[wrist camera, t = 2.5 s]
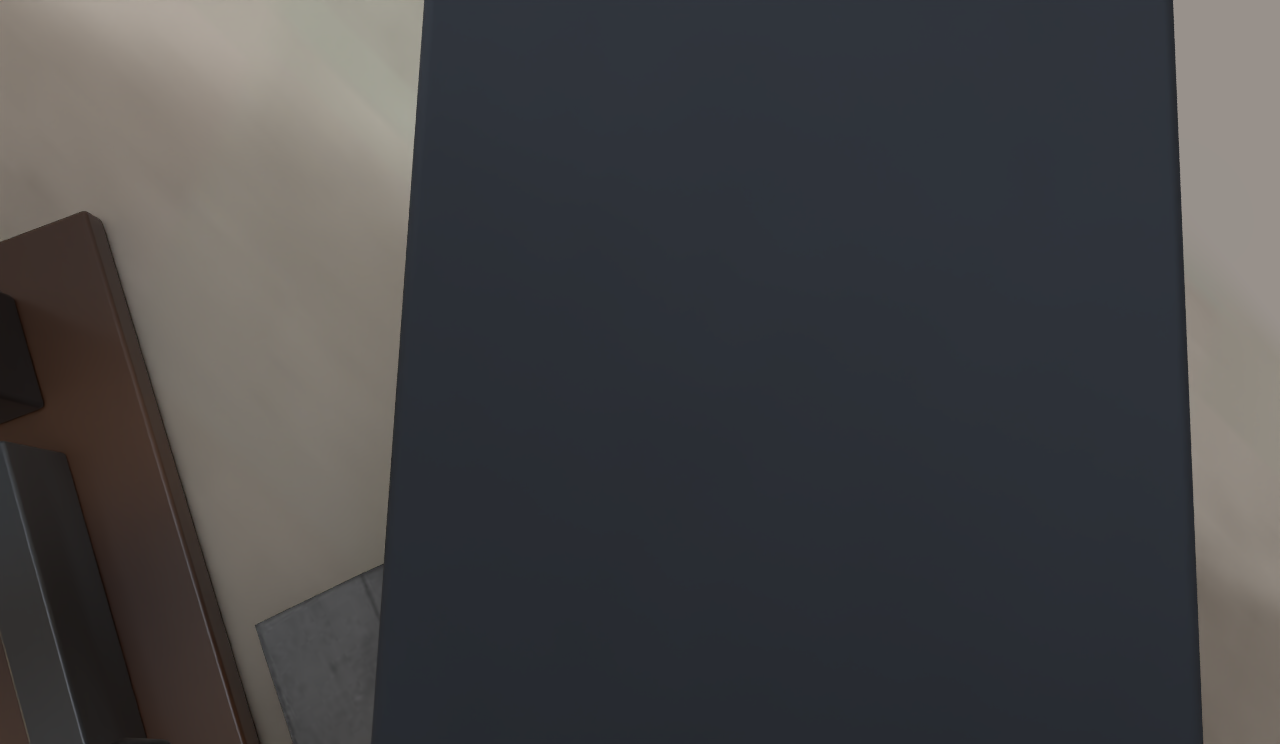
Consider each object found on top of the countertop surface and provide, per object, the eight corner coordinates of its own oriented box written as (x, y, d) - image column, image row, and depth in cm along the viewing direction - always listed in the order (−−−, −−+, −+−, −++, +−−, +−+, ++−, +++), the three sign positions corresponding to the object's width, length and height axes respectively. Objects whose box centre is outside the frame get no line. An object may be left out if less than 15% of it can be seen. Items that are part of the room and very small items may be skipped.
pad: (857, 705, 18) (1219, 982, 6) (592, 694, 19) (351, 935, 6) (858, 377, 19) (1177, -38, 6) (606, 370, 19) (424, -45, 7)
